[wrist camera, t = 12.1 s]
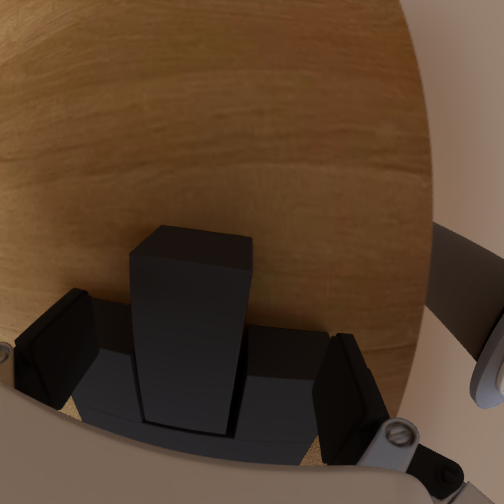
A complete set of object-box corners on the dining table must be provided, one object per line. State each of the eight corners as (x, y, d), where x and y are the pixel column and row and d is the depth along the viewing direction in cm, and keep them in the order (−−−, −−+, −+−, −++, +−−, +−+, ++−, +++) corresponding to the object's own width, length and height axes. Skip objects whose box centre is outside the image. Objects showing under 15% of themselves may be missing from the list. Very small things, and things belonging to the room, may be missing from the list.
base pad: (328, 332, 17) (346, 380, 13) (281, 447, 22) (285, 486, 18) (85, 295, 16) (50, 332, 12) (113, 420, 21) (99, 455, 17)
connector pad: (252, 237, 15) (253, 271, 11) (229, 385, 19) (225, 434, 15) (160, 224, 15) (128, 252, 11) (161, 374, 19) (145, 420, 14)
